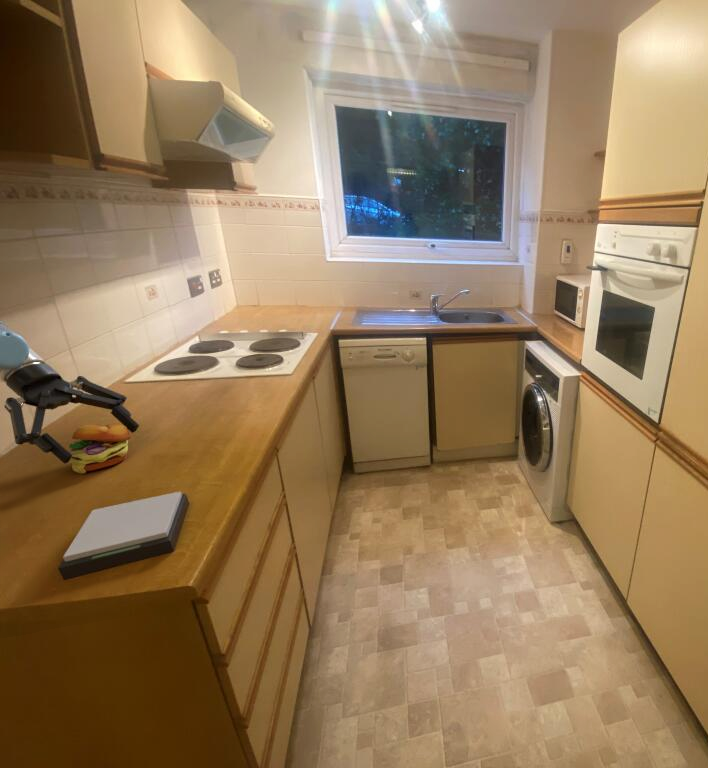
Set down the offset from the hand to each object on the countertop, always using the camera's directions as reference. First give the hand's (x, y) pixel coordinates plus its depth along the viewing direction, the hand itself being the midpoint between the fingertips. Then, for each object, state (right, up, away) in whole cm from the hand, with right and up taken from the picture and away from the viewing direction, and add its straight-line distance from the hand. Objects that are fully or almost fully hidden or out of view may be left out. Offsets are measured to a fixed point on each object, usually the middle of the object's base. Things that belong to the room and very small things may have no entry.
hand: (104, 443), depth 95 cm
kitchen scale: (+24, -14, -20) cm, 34 cm away
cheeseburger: (-2, -4, +2) cm, 5 cm away
